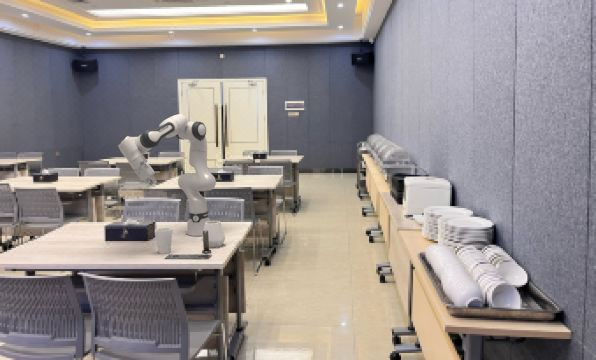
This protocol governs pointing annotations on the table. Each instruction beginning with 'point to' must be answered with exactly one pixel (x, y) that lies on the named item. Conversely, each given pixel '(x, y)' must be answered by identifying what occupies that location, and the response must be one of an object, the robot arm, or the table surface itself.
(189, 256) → the hole plate
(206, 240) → the post
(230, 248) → the table surface
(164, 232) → the foam cup
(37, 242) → the table surface
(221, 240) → the white bulging cylinder
